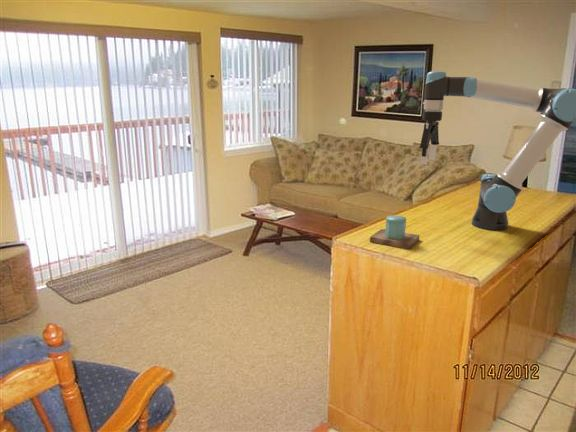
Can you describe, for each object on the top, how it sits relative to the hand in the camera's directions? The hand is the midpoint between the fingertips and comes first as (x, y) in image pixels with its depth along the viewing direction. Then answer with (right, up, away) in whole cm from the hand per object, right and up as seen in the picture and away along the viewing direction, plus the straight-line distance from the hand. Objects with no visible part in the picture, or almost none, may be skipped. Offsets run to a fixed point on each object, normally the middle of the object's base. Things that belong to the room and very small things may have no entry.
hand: (427, 162), depth 204 cm
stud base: (-17, -33, -11) cm, 38 cm away
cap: (-17, -31, -12) cm, 37 cm away
